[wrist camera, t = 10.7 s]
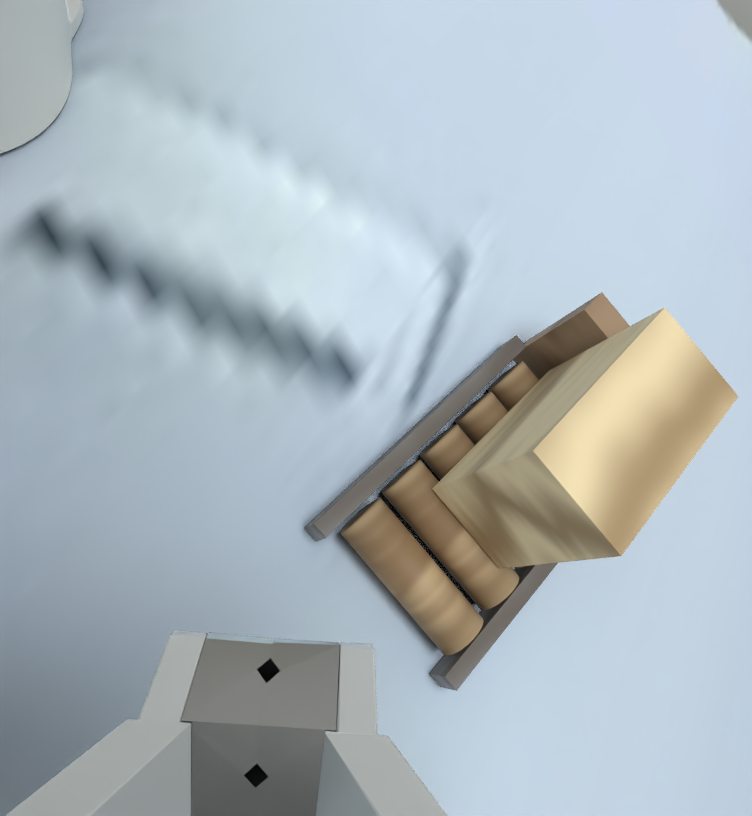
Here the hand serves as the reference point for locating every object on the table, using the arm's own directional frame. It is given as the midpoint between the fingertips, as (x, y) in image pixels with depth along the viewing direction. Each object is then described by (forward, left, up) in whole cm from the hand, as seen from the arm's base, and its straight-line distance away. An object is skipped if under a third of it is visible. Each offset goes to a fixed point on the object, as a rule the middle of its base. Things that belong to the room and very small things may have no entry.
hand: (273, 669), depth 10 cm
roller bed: (+7, +18, -26) cm, 33 cm away
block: (+7, +21, -23) cm, 32 cm away
